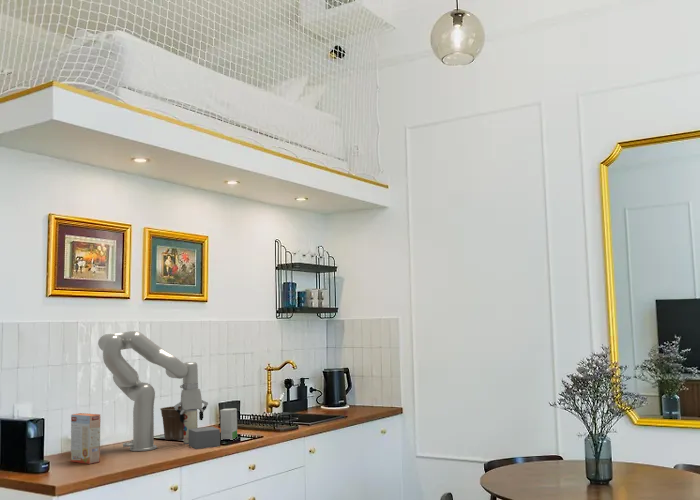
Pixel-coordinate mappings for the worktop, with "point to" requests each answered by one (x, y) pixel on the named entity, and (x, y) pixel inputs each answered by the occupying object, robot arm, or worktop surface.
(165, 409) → the plant pot
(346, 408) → the worktop surface
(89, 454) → the cracker box
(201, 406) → the robot arm
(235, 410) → the skincare box
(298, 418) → the worktop surface
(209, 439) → the stand
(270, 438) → the worktop surface
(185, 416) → the aerosol can
